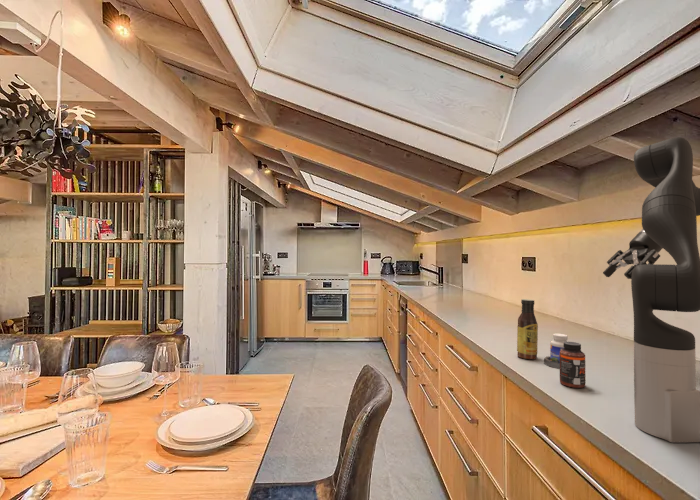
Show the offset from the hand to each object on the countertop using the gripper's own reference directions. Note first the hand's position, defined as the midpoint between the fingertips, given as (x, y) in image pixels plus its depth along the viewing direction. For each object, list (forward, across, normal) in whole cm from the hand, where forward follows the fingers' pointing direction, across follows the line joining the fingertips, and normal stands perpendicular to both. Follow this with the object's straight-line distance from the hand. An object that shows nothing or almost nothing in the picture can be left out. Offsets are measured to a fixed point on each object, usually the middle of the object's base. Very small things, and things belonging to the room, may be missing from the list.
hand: (615, 276), depth 109 cm
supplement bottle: (+36, +13, +4) cm, 39 cm away
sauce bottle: (+36, -12, +5) cm, 38 cm away
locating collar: (+31, -4, +9) cm, 33 cm away
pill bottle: (+31, -4, +10) cm, 33 cm away
